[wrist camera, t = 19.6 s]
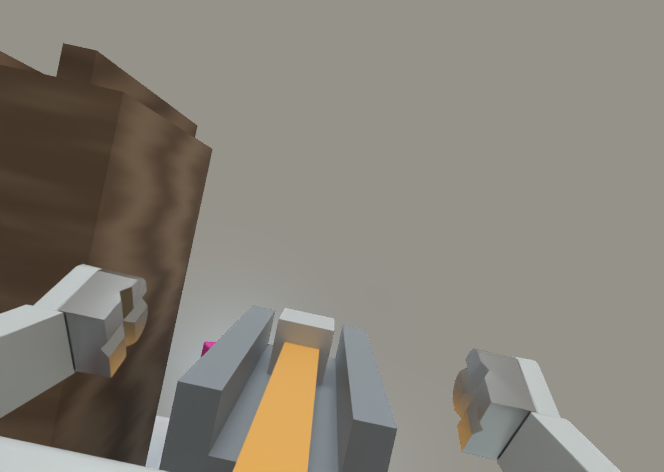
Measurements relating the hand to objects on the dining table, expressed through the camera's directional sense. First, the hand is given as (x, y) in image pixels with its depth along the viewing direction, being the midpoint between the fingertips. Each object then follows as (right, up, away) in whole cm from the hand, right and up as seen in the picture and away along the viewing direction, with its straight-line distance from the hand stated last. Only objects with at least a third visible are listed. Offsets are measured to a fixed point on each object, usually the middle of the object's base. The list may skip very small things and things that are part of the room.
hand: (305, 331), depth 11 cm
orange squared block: (-2, -8, +13) cm, 15 cm away
